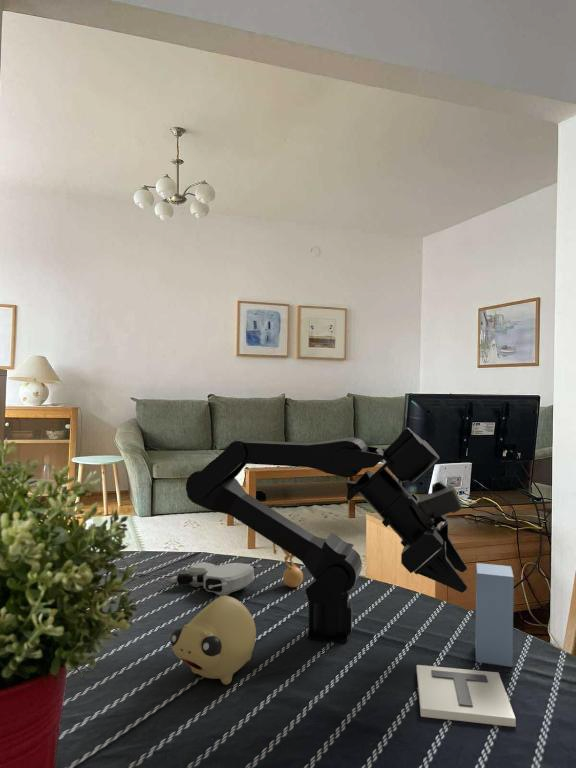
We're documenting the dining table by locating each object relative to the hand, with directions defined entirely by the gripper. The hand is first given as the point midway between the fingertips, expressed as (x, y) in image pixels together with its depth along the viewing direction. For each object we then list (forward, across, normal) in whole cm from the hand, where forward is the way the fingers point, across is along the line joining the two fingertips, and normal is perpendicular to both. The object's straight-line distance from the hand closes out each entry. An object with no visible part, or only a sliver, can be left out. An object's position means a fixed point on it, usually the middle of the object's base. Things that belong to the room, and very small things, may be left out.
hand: (465, 579), depth 87 cm
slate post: (+11, 0, +5) cm, 12 cm away
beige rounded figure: (-15, -19, +31) cm, 39 cm away
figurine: (-16, +18, +32) cm, 40 cm away
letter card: (+8, -13, +8) cm, 17 cm away
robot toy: (-25, +13, +41) cm, 50 cm away
